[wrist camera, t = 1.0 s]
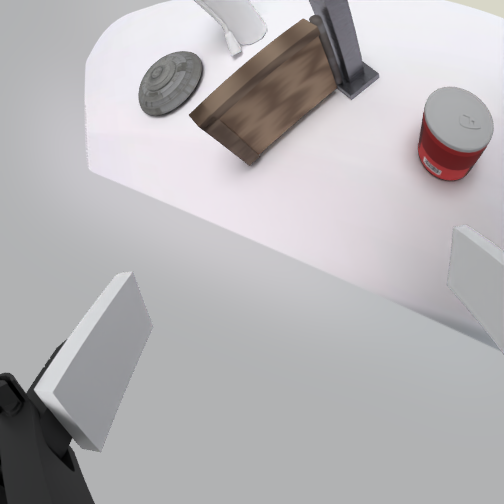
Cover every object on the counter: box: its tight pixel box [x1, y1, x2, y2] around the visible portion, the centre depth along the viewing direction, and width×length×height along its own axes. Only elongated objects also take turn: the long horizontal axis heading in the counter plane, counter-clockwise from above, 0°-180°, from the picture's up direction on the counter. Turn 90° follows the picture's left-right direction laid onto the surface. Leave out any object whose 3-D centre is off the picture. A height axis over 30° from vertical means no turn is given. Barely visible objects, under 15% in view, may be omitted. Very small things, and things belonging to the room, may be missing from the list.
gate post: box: [309, 0, 379, 100], centre depth 32 cm, size 6×6×18 cm
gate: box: [189, 15, 343, 166], centre depth 36 cm, size 19×2×13 cm, turn 127°
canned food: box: [418, 87, 494, 180], centre depth 29 cm, size 8×8×11 cm
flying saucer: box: [139, 51, 202, 115], centre depth 52 cm, size 15×15×6 cm
